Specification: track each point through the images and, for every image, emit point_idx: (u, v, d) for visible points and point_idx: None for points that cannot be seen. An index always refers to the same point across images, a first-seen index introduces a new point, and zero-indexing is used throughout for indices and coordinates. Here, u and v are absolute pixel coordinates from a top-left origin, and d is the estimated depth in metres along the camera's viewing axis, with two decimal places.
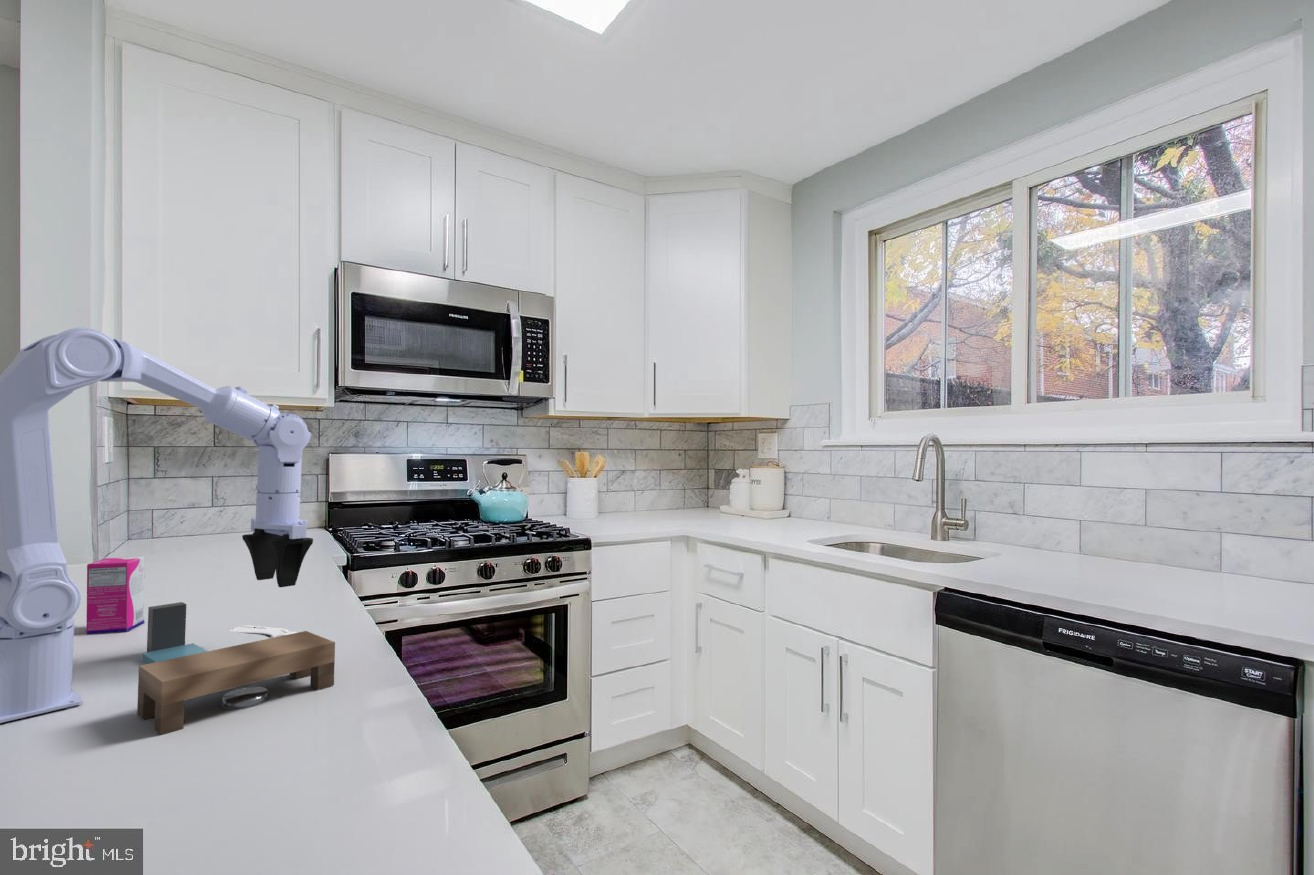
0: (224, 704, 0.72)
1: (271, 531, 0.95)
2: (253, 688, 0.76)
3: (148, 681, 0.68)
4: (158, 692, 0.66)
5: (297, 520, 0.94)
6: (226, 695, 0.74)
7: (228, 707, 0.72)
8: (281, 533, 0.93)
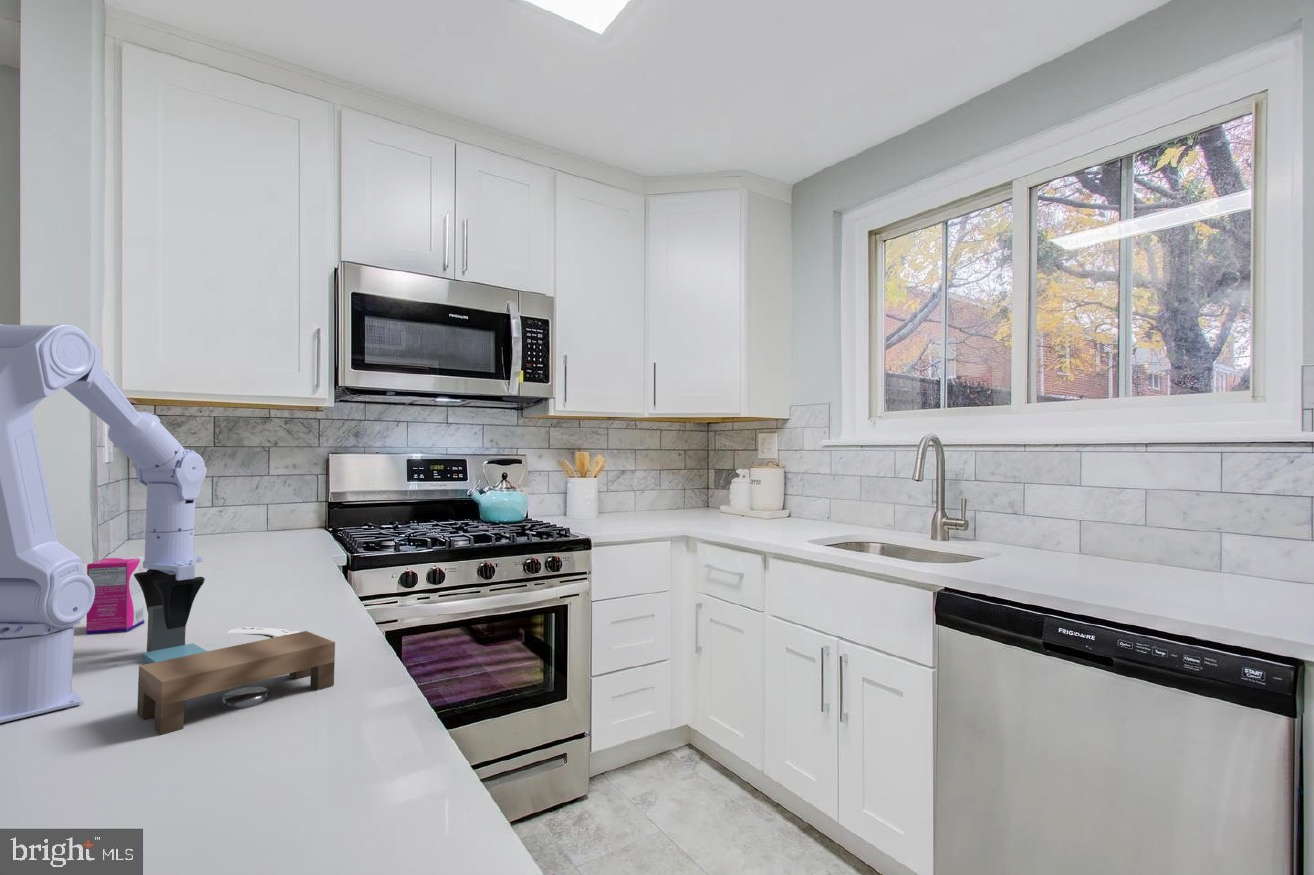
0: (224, 704, 0.72)
1: (163, 570, 0.92)
2: (253, 688, 0.76)
3: (148, 681, 0.68)
4: (158, 692, 0.66)
5: (189, 558, 0.92)
6: (226, 695, 0.74)
7: (228, 707, 0.72)
8: (171, 573, 0.90)
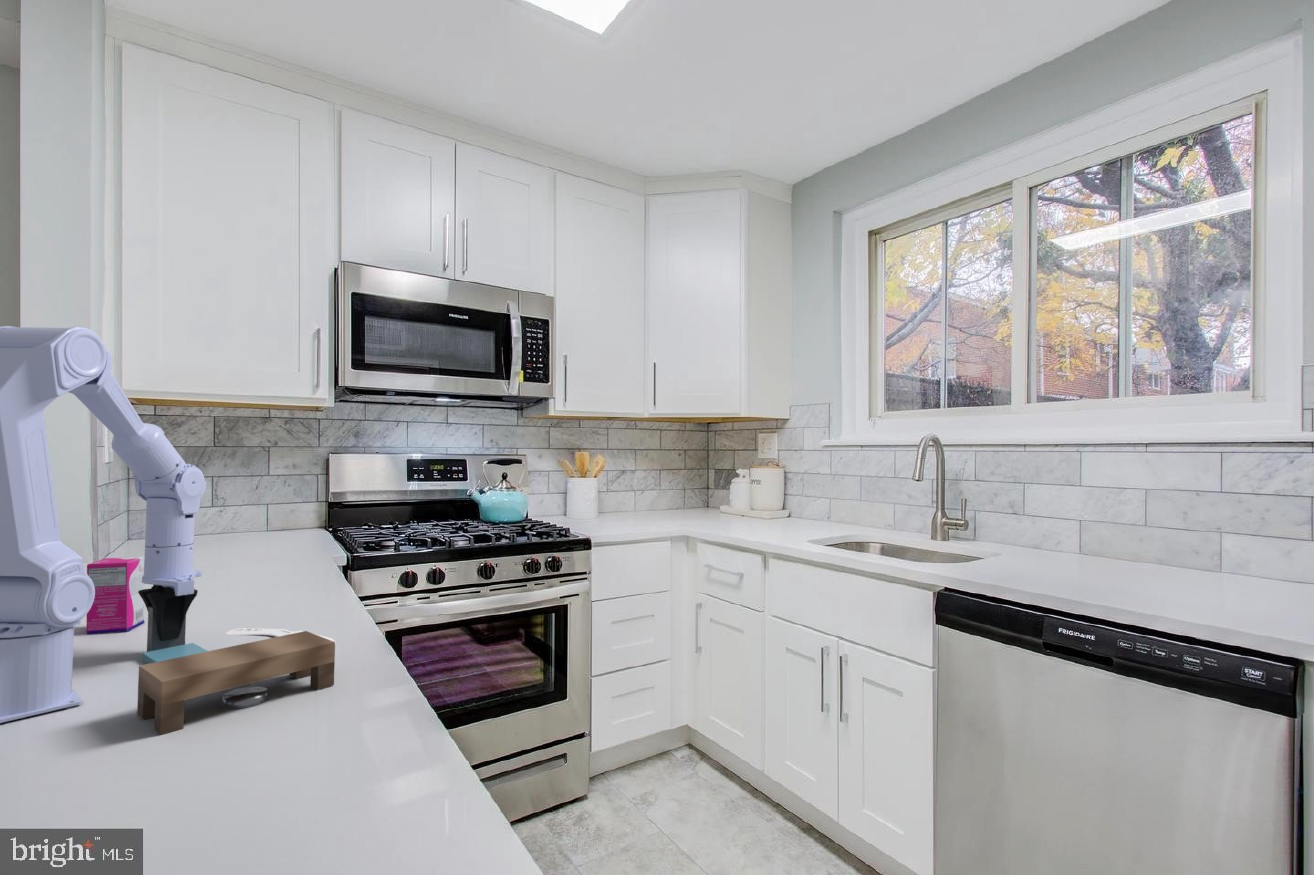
0: (225, 703, 0.72)
1: None
2: (251, 688, 0.76)
3: (148, 681, 0.68)
4: (158, 692, 0.66)
5: (189, 573, 0.92)
6: (226, 695, 0.74)
7: (230, 706, 0.72)
8: (170, 588, 0.90)
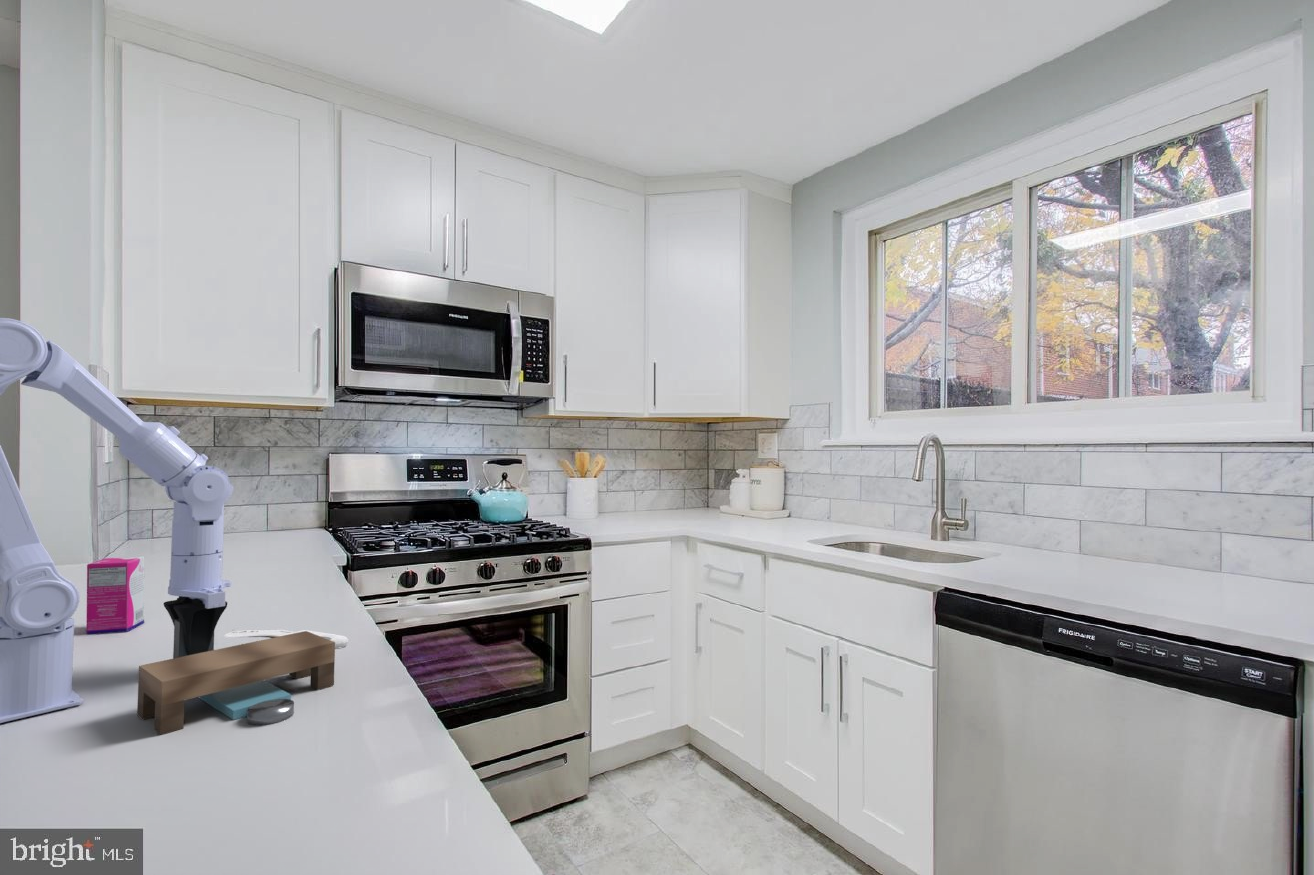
0: (252, 719, 0.68)
1: None
2: (274, 700, 0.72)
3: (148, 681, 0.68)
4: (158, 692, 0.66)
5: (218, 583, 0.85)
6: (250, 710, 0.69)
7: (258, 721, 0.68)
8: (199, 599, 0.83)
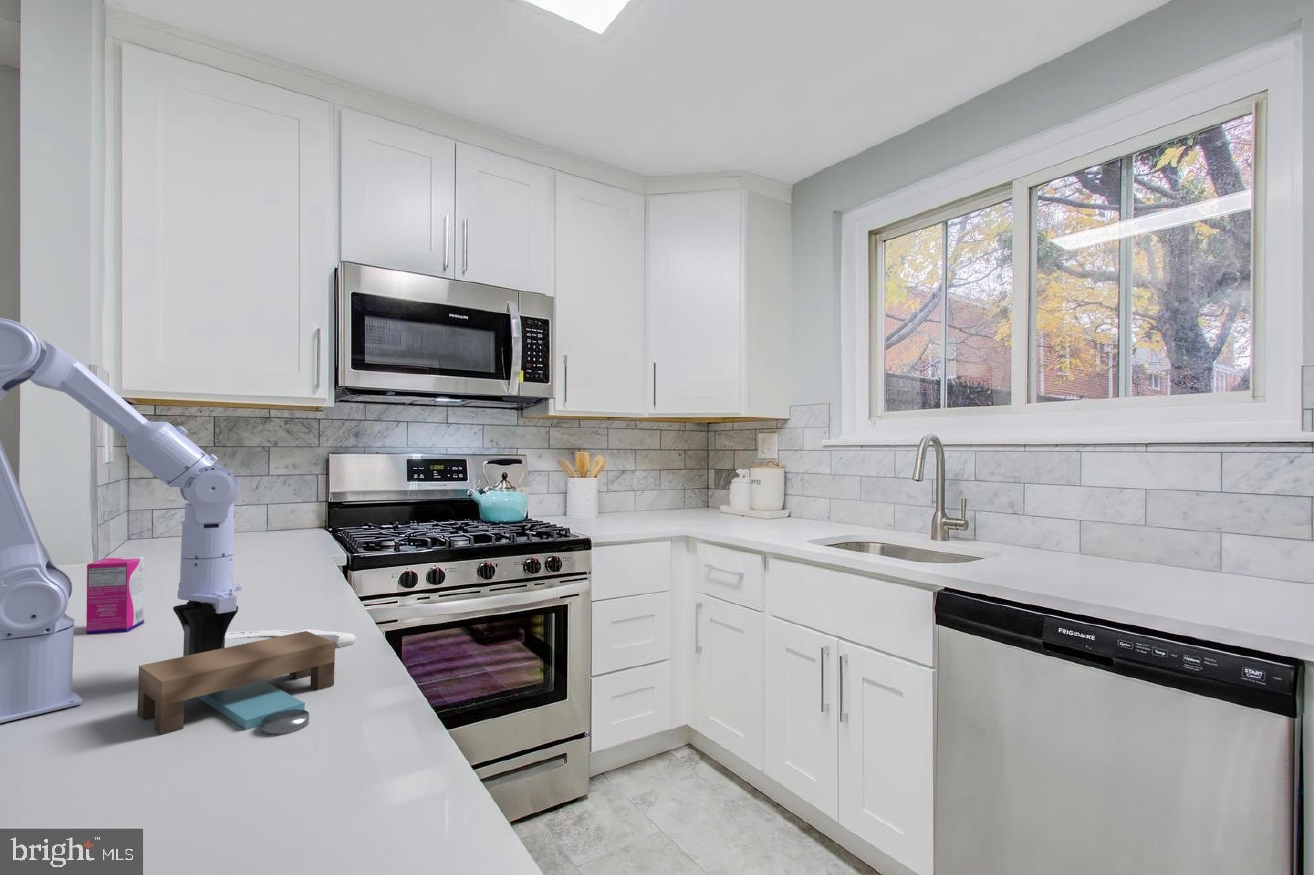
0: (267, 731, 0.66)
1: None
2: (288, 711, 0.70)
3: (148, 681, 0.68)
4: (158, 692, 0.66)
5: (229, 587, 0.83)
6: (264, 721, 0.67)
7: (274, 734, 0.66)
8: (209, 604, 0.81)
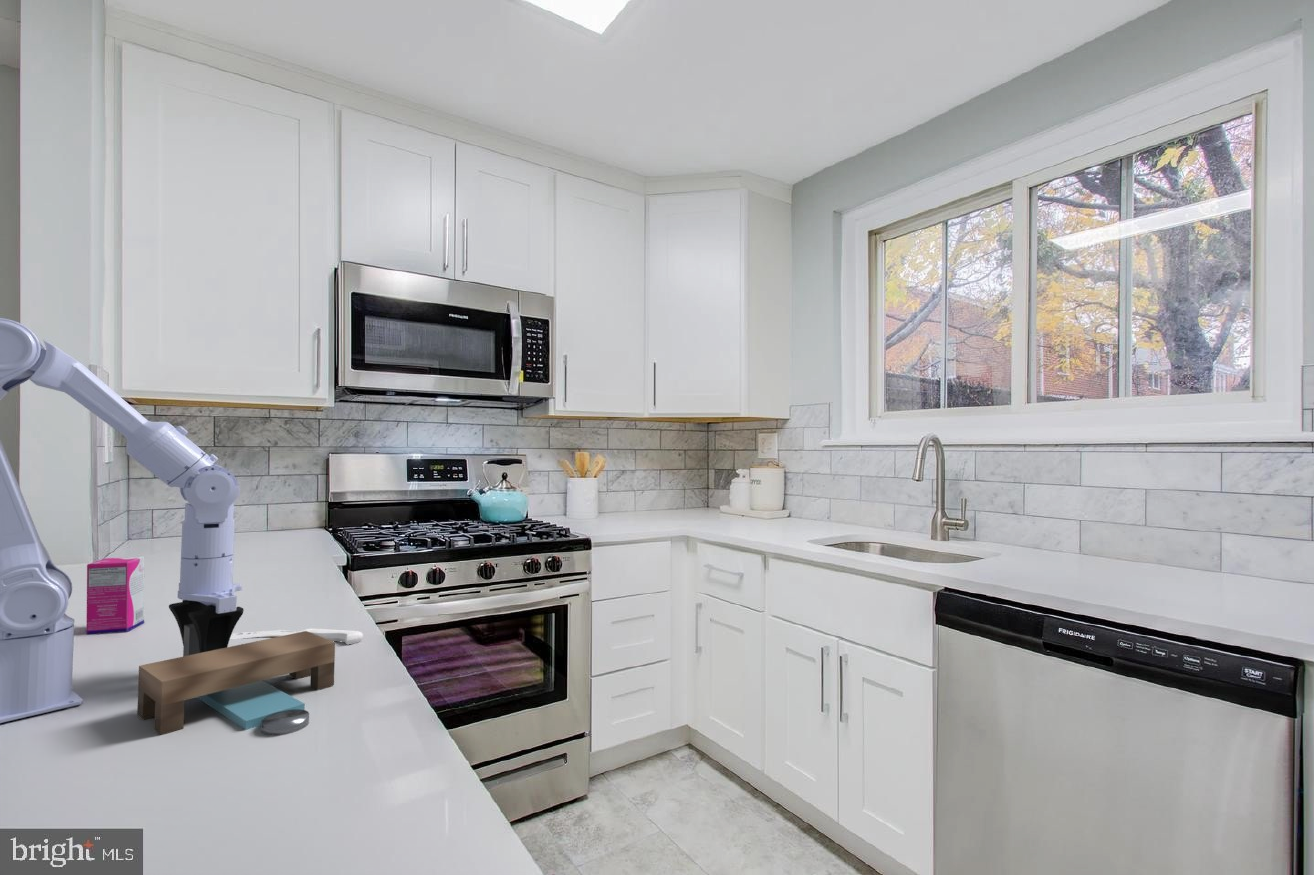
0: (267, 731, 0.66)
1: None
2: (288, 711, 0.70)
3: (148, 681, 0.68)
4: (158, 692, 0.66)
5: (229, 587, 0.83)
6: (264, 721, 0.67)
7: (274, 733, 0.66)
8: (209, 604, 0.81)
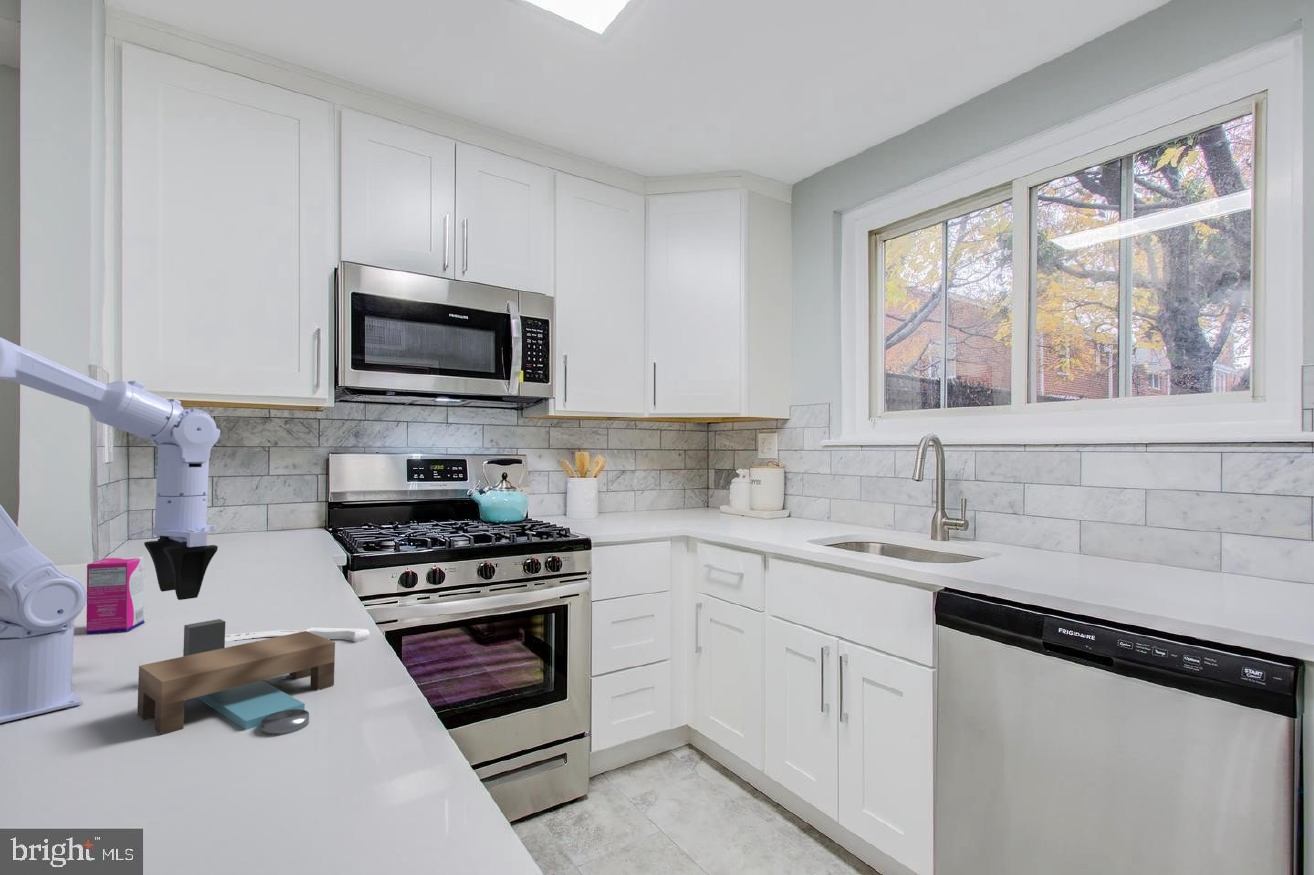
0: (267, 731, 0.66)
1: (174, 538, 0.86)
2: (288, 711, 0.70)
3: (148, 681, 0.68)
4: (158, 692, 0.66)
5: (202, 526, 0.86)
6: (264, 721, 0.67)
7: (273, 733, 0.66)
8: (182, 540, 0.84)
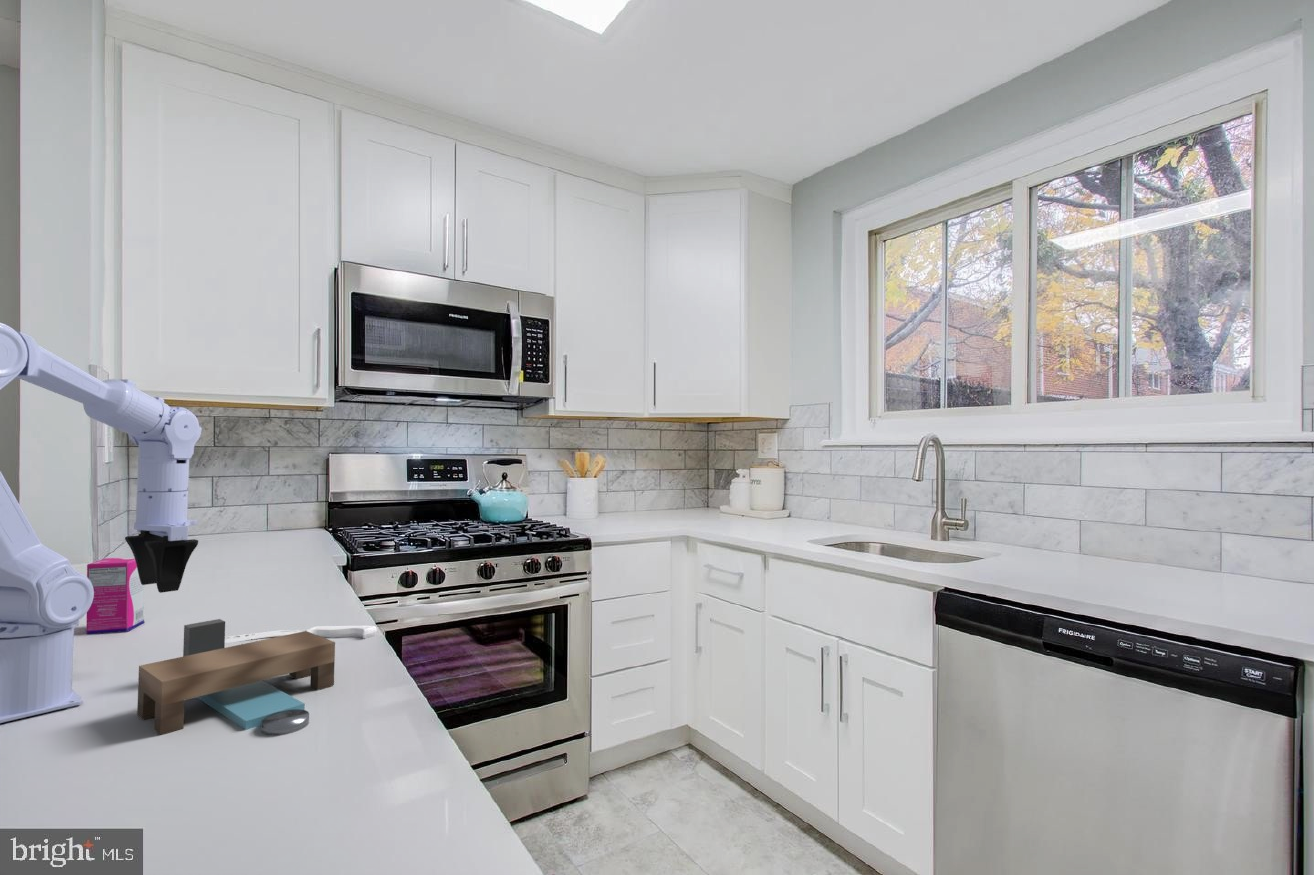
0: (267, 731, 0.66)
1: (155, 532, 0.89)
2: (288, 711, 0.70)
3: (148, 681, 0.68)
4: (158, 692, 0.66)
5: (183, 520, 0.88)
6: (264, 721, 0.67)
7: (273, 733, 0.66)
8: (163, 534, 0.87)
